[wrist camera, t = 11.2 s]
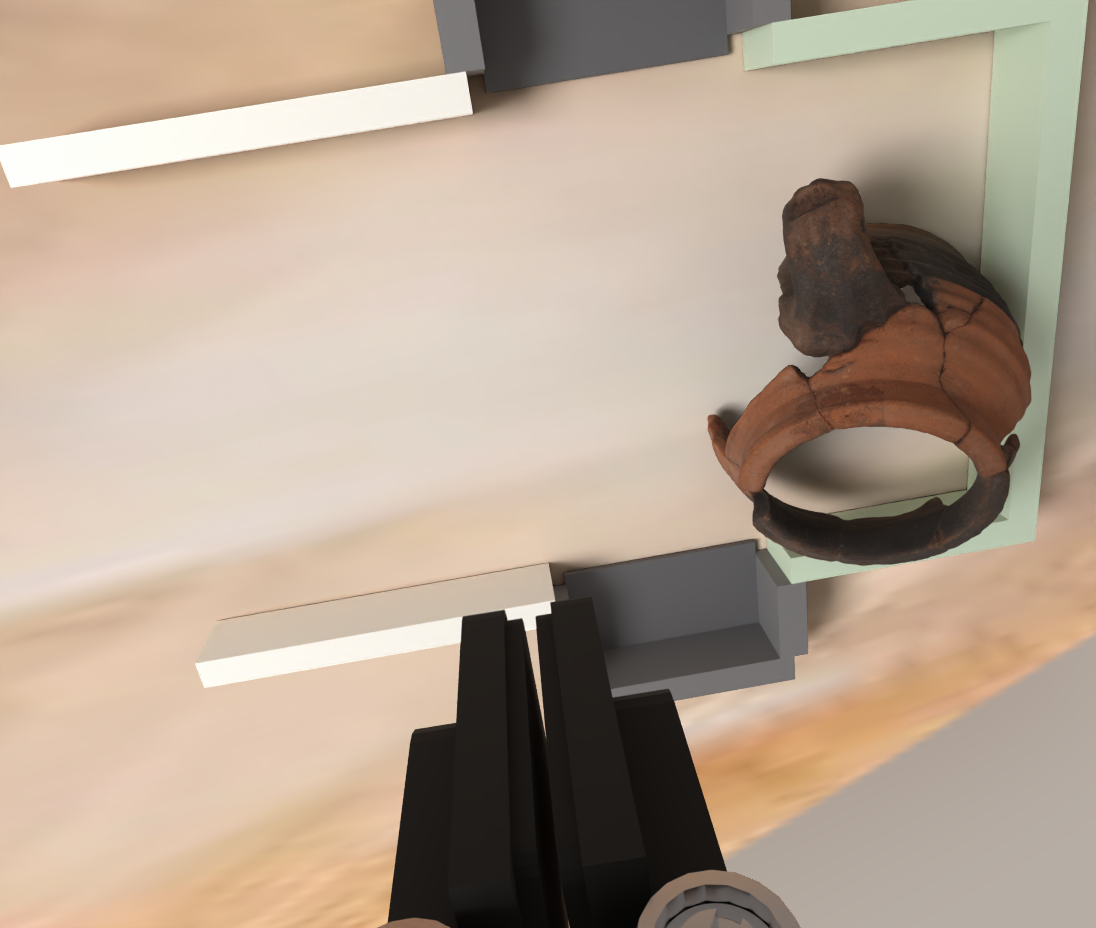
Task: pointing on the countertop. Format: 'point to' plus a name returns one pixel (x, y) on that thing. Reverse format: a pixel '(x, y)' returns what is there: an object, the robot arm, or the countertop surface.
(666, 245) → the countertop surface
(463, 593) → the pale green flat frame
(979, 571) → the countertop surface
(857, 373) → the pottery mug
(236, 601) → the countertop surface
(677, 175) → the countertop surface
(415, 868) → the robot arm
